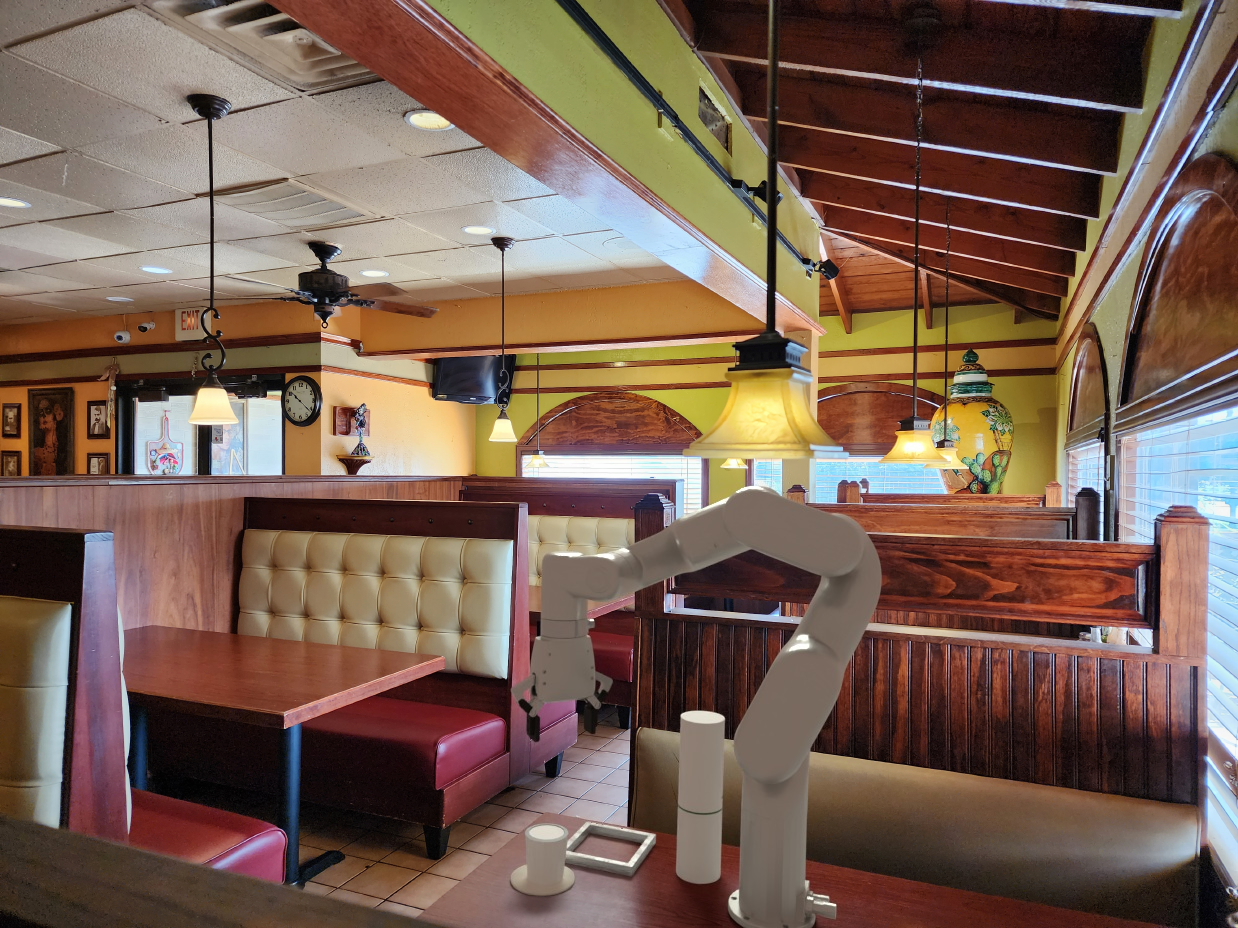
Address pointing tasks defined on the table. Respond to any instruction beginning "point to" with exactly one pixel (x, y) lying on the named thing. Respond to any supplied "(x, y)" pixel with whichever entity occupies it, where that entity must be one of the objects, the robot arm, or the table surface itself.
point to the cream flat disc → (525, 886)
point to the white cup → (546, 853)
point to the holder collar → (609, 864)
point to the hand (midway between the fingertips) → (562, 735)
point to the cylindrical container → (700, 796)
